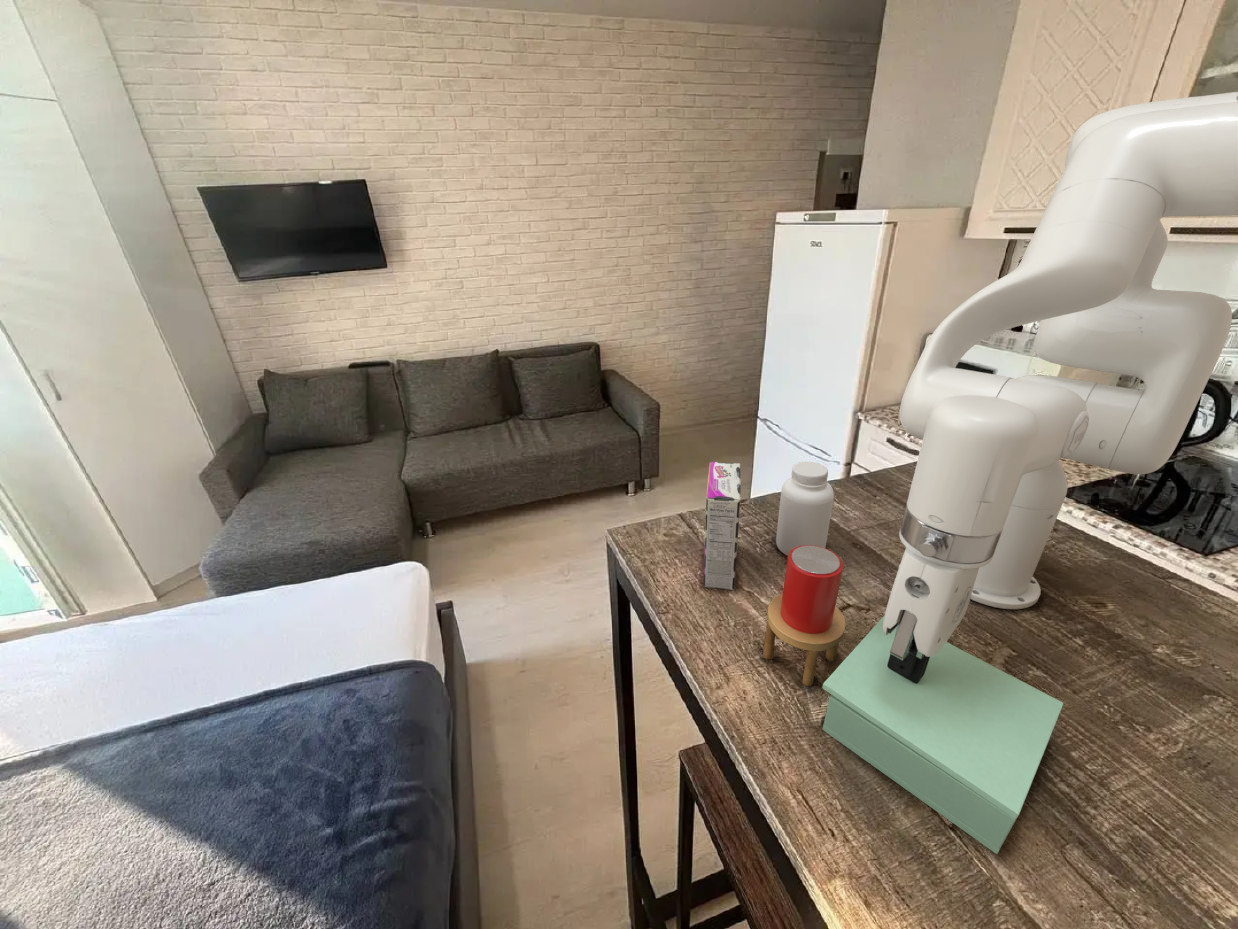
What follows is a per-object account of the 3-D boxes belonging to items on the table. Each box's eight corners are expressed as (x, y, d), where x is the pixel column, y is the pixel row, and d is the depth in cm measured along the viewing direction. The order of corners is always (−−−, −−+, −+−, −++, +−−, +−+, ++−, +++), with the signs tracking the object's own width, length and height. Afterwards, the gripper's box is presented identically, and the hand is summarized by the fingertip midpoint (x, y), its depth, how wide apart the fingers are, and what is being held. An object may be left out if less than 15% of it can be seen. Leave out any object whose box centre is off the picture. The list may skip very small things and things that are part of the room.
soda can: (797, 592, 66) (805, 537, 62) (841, 616, 62) (853, 559, 58) (770, 615, 63) (777, 558, 59) (815, 642, 58) (826, 583, 55)
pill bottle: (768, 535, 89) (776, 459, 83) (812, 531, 90) (824, 455, 83) (785, 563, 82) (796, 482, 76) (833, 559, 83) (848, 478, 76)
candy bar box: (705, 545, 87) (708, 460, 80) (734, 548, 86) (741, 462, 79) (701, 588, 78) (705, 496, 70) (734, 592, 77) (742, 498, 69)
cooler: (822, 729, 56) (829, 697, 54) (884, 653, 65) (893, 622, 63) (996, 855, 45) (1015, 820, 43) (1043, 742, 54) (1060, 708, 52)
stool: (787, 620, 71) (793, 581, 68) (849, 657, 65) (859, 616, 62) (748, 655, 66) (753, 614, 63) (812, 699, 60) (821, 656, 57)
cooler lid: (821, 688, 54) (823, 683, 54) (886, 615, 63) (887, 611, 63) (1015, 820, 43) (1019, 814, 42) (1060, 708, 52) (1063, 702, 51)
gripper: (965, 588, 40) (913, 739, 48) (1020, 515, 49) (968, 654, 57) (869, 547, 45) (837, 690, 53) (935, 488, 54) (898, 619, 62)
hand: (904, 671), depth 55 cm, fingers closed
